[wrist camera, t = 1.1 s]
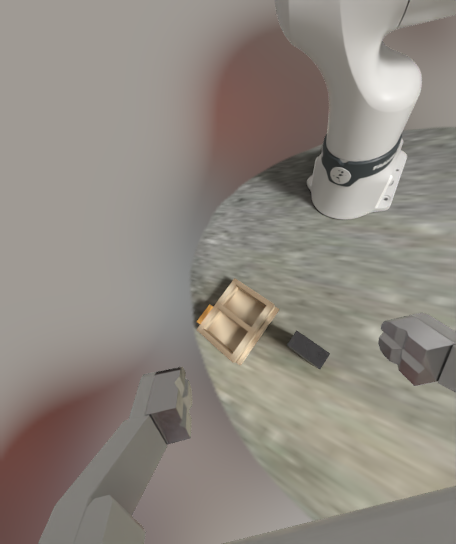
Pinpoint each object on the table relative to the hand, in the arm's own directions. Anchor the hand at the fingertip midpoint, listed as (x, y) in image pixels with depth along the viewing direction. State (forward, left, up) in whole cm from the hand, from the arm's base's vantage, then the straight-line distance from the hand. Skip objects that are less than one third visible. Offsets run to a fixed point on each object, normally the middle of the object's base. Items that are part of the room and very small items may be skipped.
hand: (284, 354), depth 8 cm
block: (-2, +1, -35) cm, 35 cm away
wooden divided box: (+1, -13, -35) cm, 38 cm away
